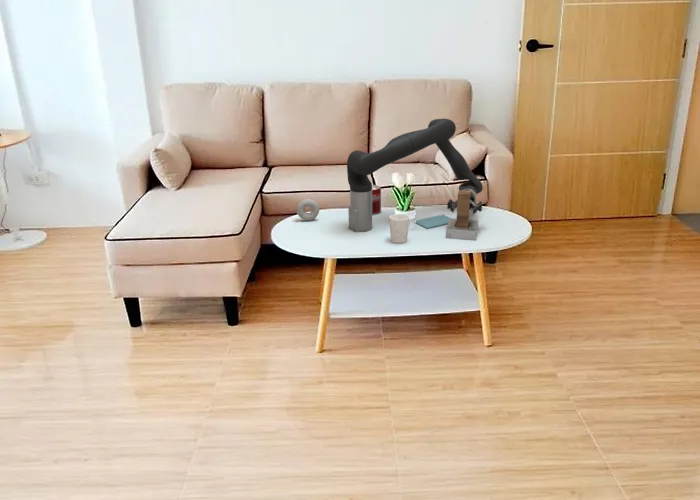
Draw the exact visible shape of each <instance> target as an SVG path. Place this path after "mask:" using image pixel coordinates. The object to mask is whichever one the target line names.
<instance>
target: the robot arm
mask: <svg viewBox="0 0 700 500" xmlns="http://www.w3.org/2000/svg"><path fill="white" fill-rule="evenodd" d="M456 130H457V126H456V123H455V122H454V121H453V120H452V119H449V118H436V119H435V118H434V119H433V120H431V121H430V122H429V123H428V125H427V127H426V128H423V129H419V130H413V131H409V132H405V133H402V134H400V135H398V136H395V137H394V138H391V140H389V141H388V143H386V145H385V146H384V147H382V148H381V149H378V150H376V151H373V152H364V151H362V150H359V149H357V150H353V151H352V152H350V154H349V155H348V157H347V162H346V171H347V172H346V173H347V174H346V175H347V183H348V185H349V197H350V198H349V200H350V201H349V202H350V204H349V206H348V210H347V211H348V228H349V229H350V230H352V231H353V232H355V233H357V232H358V233H359V232H360V233H361V232H369V231H371V230H372V229H373V214H372V185H373V184H372V183H373V182H371V180H370V179H369V177H368V175H369V176H370V175H371V174H373V173H375V172H377V171H379V170H380V169H383V168H384V167H385V166H388V165H390V164H392V163H395V162H397V161H398V160H402V159H404V158H406V157H409V156H411V155H413V154H415V153H417V152H420V151H421V150H424V149H426V148H427V147H429V146H431V145H432V146H433V145H434V144H435V145H436V147H438V149H439V150H440V152H441V154H442V155H443V157H444V158H445V159H446V161H447V163H448V164H449V166H450V168H451V169H452V171H453V174H454V176H455V177H456V180H457V181H465V182H463V183H460V185H459V187H458V191H459V190H461V191H471V192H470V209H469V211H471V212H472V214H473V215H475V214H477V212H482V211H483V201H478V202H477V196H478V194H480V193H482V192H483V189H484V188H483V183H482V182H481V180H480V179H479V178H478V177H477V176H476V175H475V174H474V173H473V171H472V170H471V169H470V167H469V164H468V163H467V161H466V159H465V158H464V156H463V154H461V152H459V151H458V150H457V148H456V147H455V146H454V145H453V144H452V143H451V141H450V139H451V138H453V136H454V135H455V133H456ZM457 201H458V199H457V200H455V201H453V199H451V198H450V199H449V200H448V201H447V204H446V205H447V206H446V207H447V208H446V209H447V210H450V211H449V212H451V213H454V212H455V210H456V211H457Z"/></svg>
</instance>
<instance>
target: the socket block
mask: <svg viewBox="0 0 700 500" xmlns="http://www.w3.org/2000/svg"><path fill="white" fill-rule="evenodd" d="M456 221H457V218H456V219H455V218H452V219H450V220H449V222H448V225H446V227H445V239H456V240H466V241H468V240H469V241H476V238H477V234H478V231H479V220H472V219H471V220H470V219H469V226H468V228H464V227H456Z"/></svg>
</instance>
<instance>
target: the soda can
mask: <svg viewBox="0 0 700 500" xmlns="http://www.w3.org/2000/svg"><path fill="white" fill-rule="evenodd" d="M381 211H382V187H381V186H380V185H376V184H372V215H378V214H380V213H381Z"/></svg>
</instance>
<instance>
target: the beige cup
mask: <svg viewBox="0 0 700 500" xmlns="http://www.w3.org/2000/svg"><path fill="white" fill-rule="evenodd" d="M409 223H410V216H409V215H408V214H403V213H394V214H391V215H389V234H390V241H391V242H392V243H396V244H404V243H406V242H407V241H408V235H409V226H410V225H409Z"/></svg>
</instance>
